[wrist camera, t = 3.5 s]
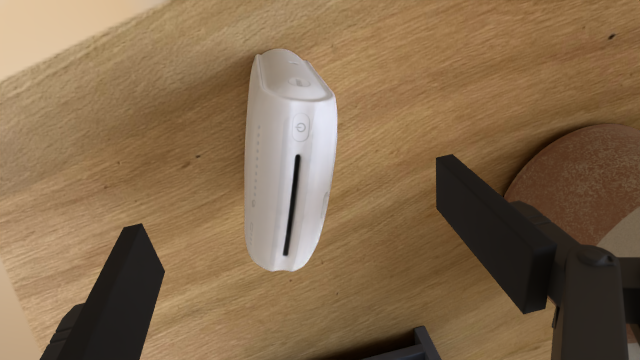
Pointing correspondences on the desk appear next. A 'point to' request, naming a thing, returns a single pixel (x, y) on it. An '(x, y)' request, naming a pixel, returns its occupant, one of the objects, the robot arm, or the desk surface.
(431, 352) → the shelf
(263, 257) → the photo printer
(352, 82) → the desk surface
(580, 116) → the desk surface
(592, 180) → the planter
